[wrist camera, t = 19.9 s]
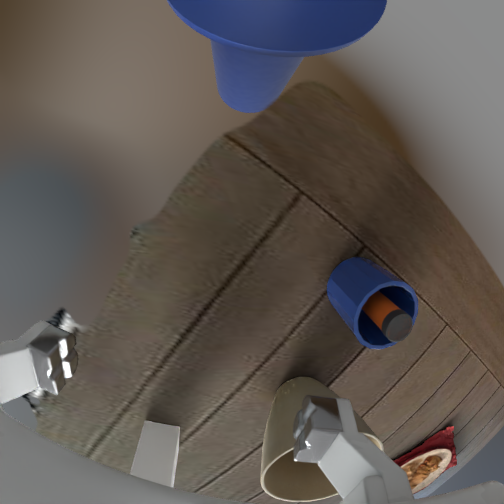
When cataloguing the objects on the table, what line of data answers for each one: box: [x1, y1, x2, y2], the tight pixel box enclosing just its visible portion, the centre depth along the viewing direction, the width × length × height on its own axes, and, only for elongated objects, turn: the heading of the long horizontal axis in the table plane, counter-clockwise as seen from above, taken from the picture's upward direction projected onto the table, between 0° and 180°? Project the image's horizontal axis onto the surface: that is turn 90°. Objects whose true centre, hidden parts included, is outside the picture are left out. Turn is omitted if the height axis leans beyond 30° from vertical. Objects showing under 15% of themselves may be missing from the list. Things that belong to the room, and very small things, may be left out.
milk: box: [130, 420, 180, 487], centre depth 34 cm, size 6×6×22 cm
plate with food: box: [394, 426, 457, 494], centre depth 52 cm, size 24×26×4 cm
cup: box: [327, 257, 418, 349], centre depth 35 cm, size 8×8×10 cm
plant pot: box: [261, 377, 384, 502], centre depth 36 cm, size 15×15×16 cm
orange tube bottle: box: [361, 291, 413, 342], centre depth 33 cm, size 3×3×12 cm
